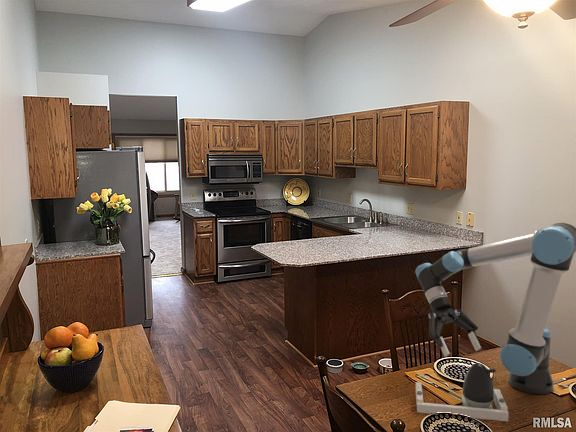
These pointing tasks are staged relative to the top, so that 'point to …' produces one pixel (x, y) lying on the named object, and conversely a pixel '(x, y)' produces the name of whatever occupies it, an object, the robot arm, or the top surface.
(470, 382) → the dark grey tapered dome
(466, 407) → the track
